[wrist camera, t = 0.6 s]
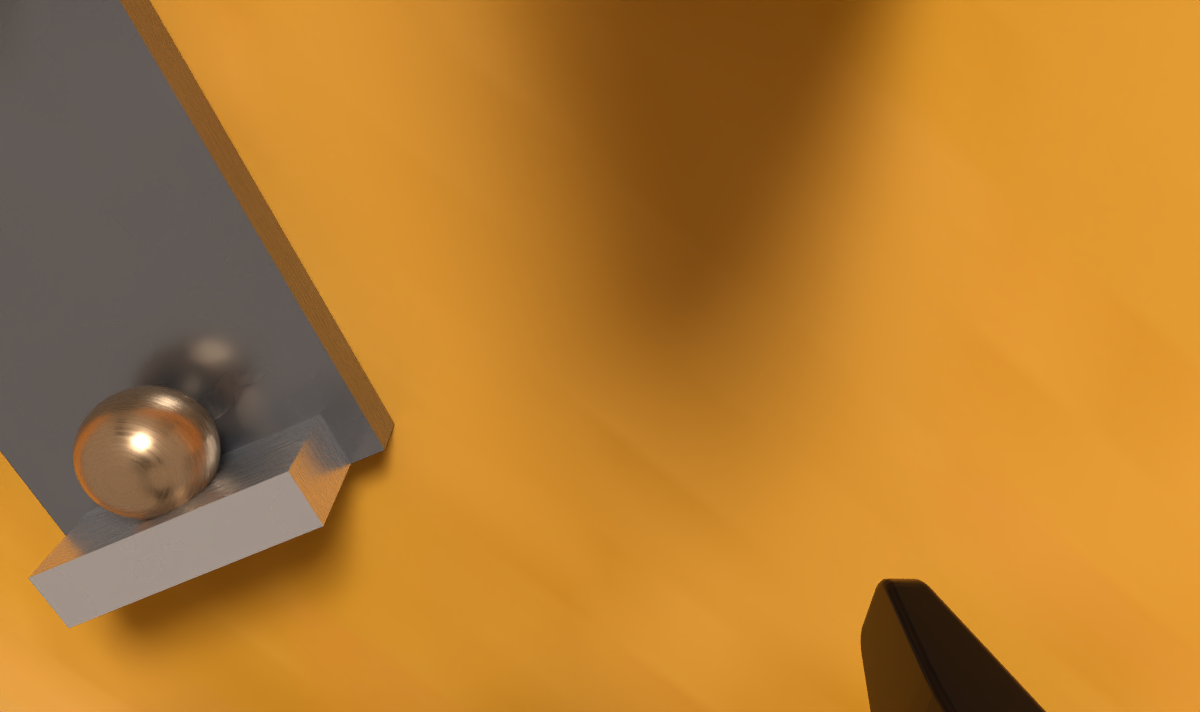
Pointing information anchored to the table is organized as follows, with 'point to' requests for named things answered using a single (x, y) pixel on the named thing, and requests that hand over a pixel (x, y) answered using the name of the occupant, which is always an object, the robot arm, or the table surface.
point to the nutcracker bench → (153, 320)
